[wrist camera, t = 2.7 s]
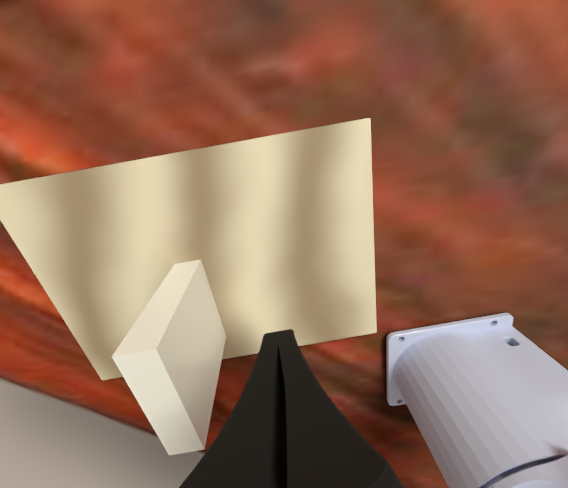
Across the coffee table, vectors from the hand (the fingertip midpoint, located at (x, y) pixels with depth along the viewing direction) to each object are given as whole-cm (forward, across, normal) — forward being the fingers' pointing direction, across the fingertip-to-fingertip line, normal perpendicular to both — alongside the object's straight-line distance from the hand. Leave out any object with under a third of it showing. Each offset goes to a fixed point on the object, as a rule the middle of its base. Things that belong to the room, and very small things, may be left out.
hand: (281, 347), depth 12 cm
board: (+6, +4, -2) cm, 7 cm away
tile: (+5, +6, 0) cm, 8 cm away
